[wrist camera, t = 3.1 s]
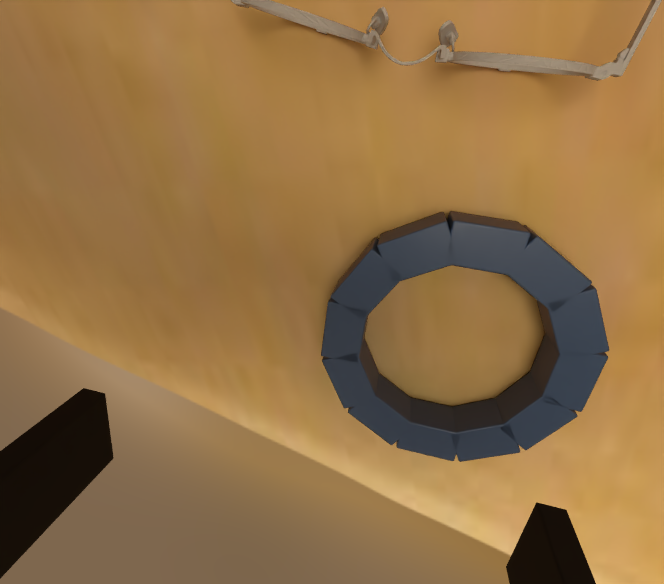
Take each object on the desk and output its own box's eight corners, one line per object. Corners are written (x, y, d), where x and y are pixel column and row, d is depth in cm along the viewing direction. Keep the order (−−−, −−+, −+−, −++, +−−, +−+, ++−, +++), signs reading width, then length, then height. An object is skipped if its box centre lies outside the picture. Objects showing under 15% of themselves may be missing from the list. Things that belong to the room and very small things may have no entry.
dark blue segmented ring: (319, 403, 24) (311, 428, 22) (348, 194, 19) (341, 201, 17) (535, 453, 23) (547, 484, 21) (631, 239, 17) (659, 253, 15)
